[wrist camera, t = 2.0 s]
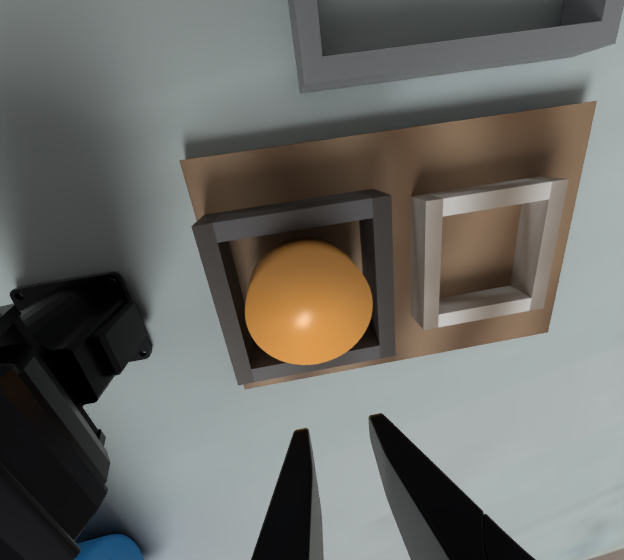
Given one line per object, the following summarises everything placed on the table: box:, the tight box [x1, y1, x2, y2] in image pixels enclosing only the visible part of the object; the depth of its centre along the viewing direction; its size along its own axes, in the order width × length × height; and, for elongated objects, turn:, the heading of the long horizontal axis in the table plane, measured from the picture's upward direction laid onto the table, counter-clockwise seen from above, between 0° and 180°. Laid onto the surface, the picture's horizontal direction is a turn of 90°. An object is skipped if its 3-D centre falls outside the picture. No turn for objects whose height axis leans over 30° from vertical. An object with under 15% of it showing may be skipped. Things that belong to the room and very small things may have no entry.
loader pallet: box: [180, 101, 597, 389], centre depth 19 cm, size 24×16×4 cm, turn 98°
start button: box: [245, 238, 373, 365], centre depth 17 cm, size 7×7×2 cm
